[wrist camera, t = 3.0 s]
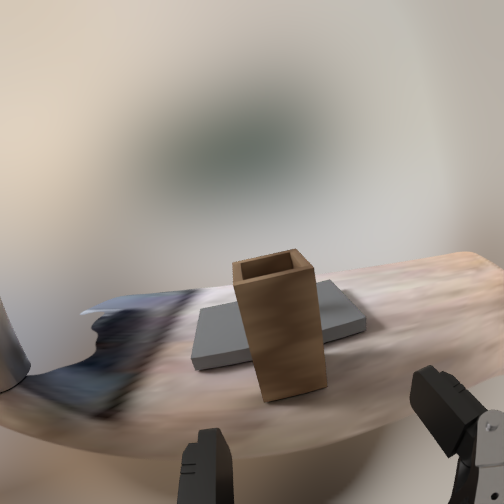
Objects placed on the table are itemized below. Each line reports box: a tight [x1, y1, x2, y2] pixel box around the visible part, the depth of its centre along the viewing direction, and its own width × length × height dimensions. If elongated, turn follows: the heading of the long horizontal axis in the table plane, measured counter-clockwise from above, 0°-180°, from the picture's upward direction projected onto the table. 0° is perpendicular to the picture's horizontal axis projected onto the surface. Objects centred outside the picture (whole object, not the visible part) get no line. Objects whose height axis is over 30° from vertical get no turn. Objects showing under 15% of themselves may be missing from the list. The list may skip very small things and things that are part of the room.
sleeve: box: [232, 249, 327, 402], centre depth 21 cm, size 5×5×10 cm
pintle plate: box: [191, 280, 366, 370], centre depth 30 cm, size 17×11×8 cm, turn 94°
